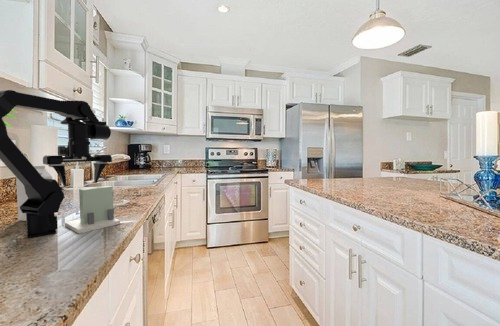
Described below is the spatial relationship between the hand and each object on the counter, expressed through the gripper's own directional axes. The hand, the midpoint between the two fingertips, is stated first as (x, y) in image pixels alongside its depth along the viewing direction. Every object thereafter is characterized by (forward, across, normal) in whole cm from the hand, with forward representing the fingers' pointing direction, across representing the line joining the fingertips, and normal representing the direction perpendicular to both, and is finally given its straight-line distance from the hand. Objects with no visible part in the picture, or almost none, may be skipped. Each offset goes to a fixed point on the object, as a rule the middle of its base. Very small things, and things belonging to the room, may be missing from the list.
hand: (80, 184), depth 84 cm
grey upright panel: (+12, -2, +7) cm, 14 cm away
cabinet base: (+13, -1, +7) cm, 15 cm away
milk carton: (+13, +9, -17) cm, 23 cm away
